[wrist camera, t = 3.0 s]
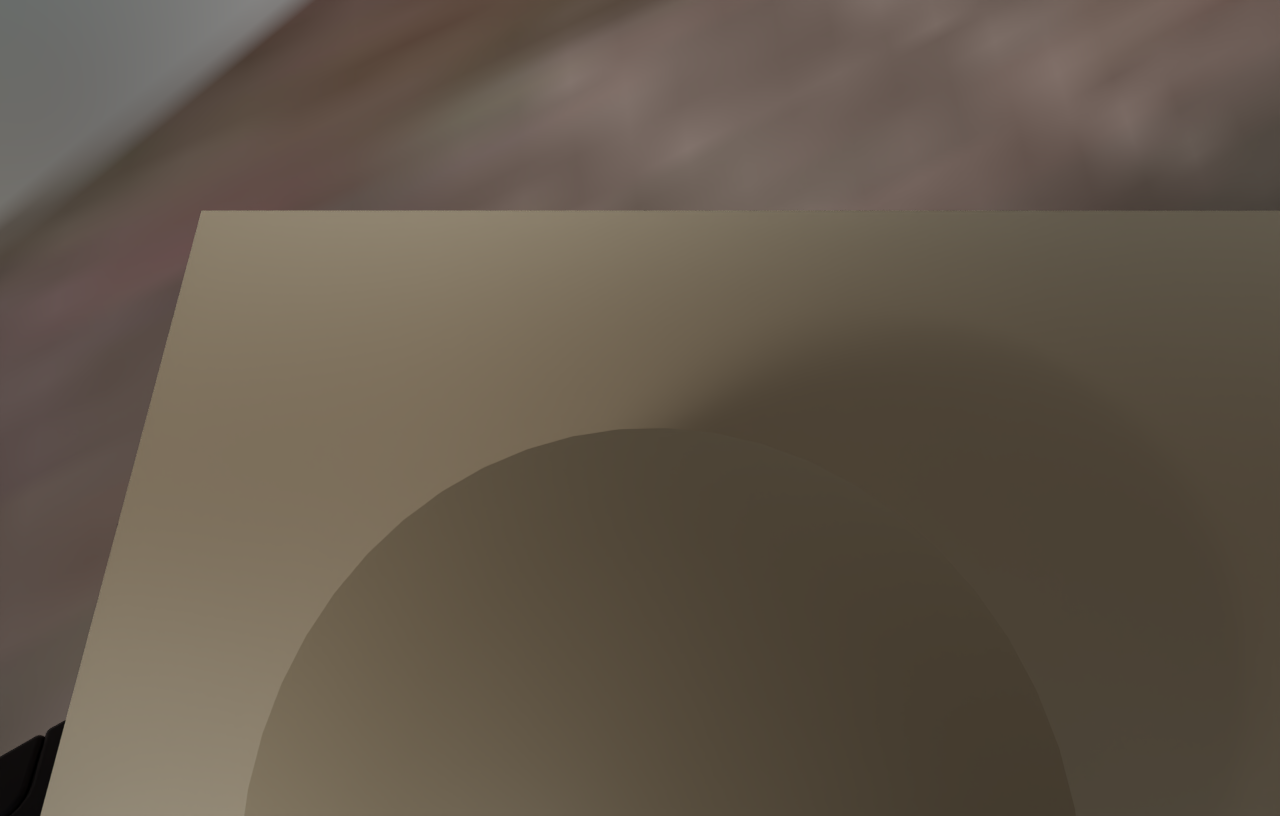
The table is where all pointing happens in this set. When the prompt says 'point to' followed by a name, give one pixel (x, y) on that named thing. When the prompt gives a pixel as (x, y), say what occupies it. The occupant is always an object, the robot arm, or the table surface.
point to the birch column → (699, 520)
